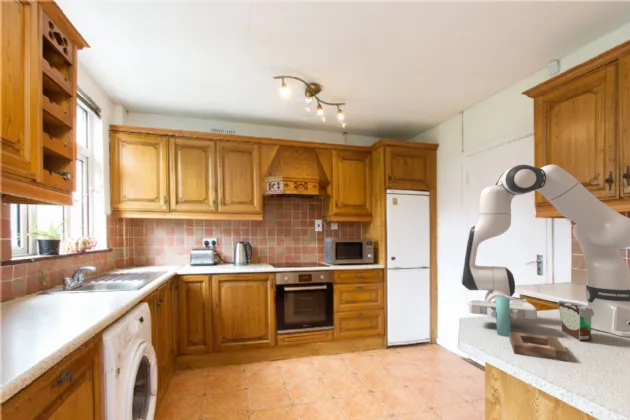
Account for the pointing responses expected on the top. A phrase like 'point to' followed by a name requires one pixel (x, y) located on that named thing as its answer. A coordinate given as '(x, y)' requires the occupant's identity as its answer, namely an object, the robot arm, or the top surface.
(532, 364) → the top surface
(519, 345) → the hole plate
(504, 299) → the teal peg
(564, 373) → the top surface
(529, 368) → the top surface
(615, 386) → the top surface
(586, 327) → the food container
